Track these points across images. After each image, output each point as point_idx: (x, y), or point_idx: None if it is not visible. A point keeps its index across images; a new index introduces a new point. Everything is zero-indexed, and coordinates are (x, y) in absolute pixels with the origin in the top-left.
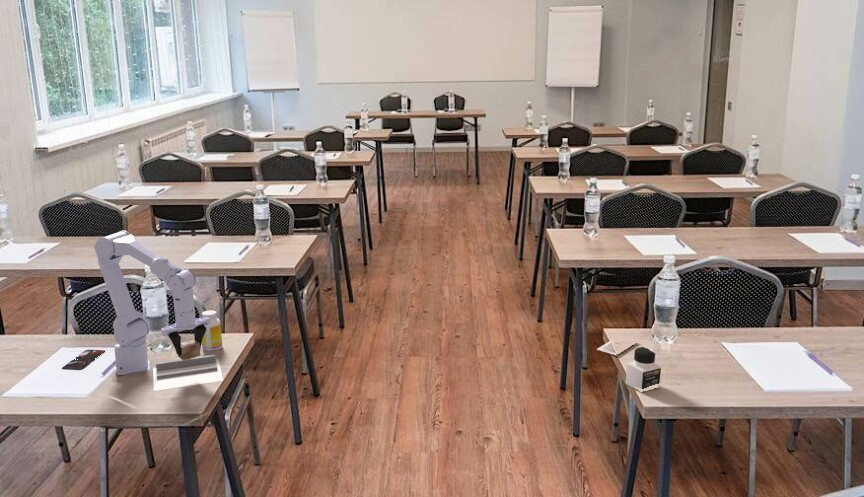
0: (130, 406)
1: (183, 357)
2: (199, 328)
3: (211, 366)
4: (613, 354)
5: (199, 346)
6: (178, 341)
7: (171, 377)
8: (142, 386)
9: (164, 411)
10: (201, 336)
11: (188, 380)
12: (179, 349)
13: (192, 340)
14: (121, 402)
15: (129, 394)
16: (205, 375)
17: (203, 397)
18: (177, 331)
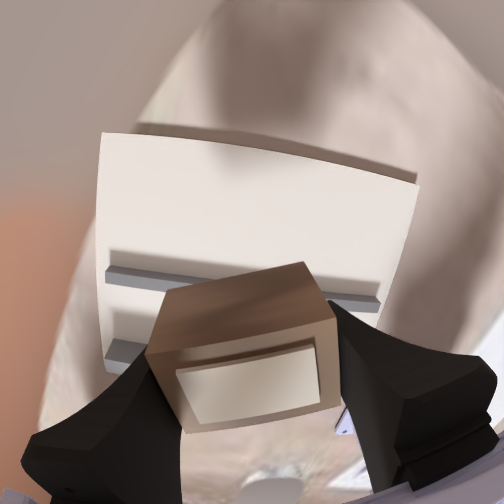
0: (489, 125)
1: (304, 272)
2: (98, 495)
3: (133, 315)
4: None
5: (154, 332)
6: (397, 362)
7: (322, 285)
8: (426, 268)
9: (407, 3)
10: (104, 406)
11: (261, 215)
12: (348, 320)
13: (203, 416)
14: (500, 176)
15: (472, 223)
16: (171, 232)
17: (234, 15)
18: (401, 491)
